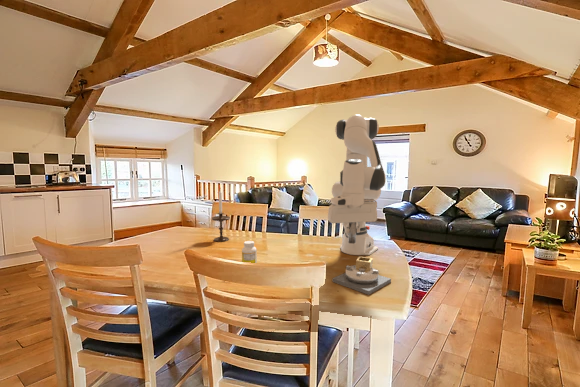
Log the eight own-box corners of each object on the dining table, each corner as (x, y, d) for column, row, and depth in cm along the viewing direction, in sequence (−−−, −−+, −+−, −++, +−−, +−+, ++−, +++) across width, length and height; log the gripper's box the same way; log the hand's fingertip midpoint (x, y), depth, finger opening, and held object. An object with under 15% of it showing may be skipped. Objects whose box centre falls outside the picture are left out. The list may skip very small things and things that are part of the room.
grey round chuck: (374, 286, 115) (375, 270, 114) (341, 280, 121) (342, 265, 120) (381, 274, 128) (381, 259, 127) (350, 269, 133) (351, 255, 133)
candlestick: (213, 243, 183) (212, 185, 179) (211, 238, 193) (209, 184, 189) (231, 241, 186) (230, 185, 183) (228, 237, 197) (227, 183, 193)
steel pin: (351, 241, 126) (351, 220, 125) (357, 242, 124) (357, 221, 123) (346, 242, 124) (347, 221, 123) (352, 244, 122) (353, 222, 121)
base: (355, 271, 136) (355, 262, 136) (390, 282, 124) (391, 272, 123) (332, 281, 124) (332, 272, 124) (368, 294, 112) (369, 284, 112)
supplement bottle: (246, 266, 143) (245, 239, 141) (259, 267, 141) (258, 240, 139) (239, 271, 136) (239, 243, 135) (253, 272, 134) (252, 244, 133)
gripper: (373, 197, 127) (372, 229, 129) (326, 199, 124) (326, 231, 125) (380, 199, 121) (379, 233, 122) (331, 201, 117) (330, 235, 119)
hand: (352, 232), depth 124 cm, fingers closed on steel pin, 3 cm apart
